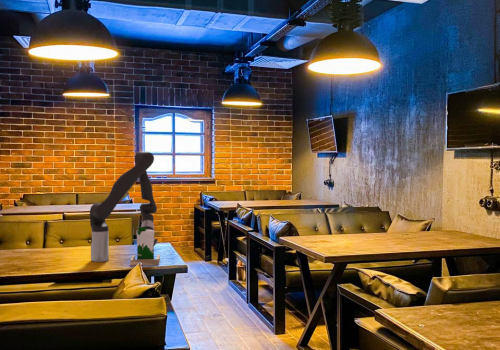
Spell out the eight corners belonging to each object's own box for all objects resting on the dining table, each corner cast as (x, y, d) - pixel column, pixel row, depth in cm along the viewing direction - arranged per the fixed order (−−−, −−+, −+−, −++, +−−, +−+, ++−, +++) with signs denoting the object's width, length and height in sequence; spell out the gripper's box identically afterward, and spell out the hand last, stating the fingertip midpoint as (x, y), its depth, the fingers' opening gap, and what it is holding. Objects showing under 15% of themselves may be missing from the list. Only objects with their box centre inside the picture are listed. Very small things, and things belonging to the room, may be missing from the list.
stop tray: (132, 260, 285) (132, 255, 285) (159, 259, 288) (159, 254, 287) (130, 265, 271) (130, 260, 271) (158, 264, 273) (158, 259, 273)
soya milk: (134, 261, 282) (134, 226, 281) (148, 259, 288) (148, 225, 287) (142, 263, 275) (142, 228, 275) (156, 261, 281) (156, 226, 281)
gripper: (135, 226, 294) (134, 250, 283) (158, 225, 296) (157, 249, 285) (136, 233, 300) (135, 257, 288) (158, 232, 302) (158, 256, 290)
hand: (146, 253), depth 287 cm, fingers closed
